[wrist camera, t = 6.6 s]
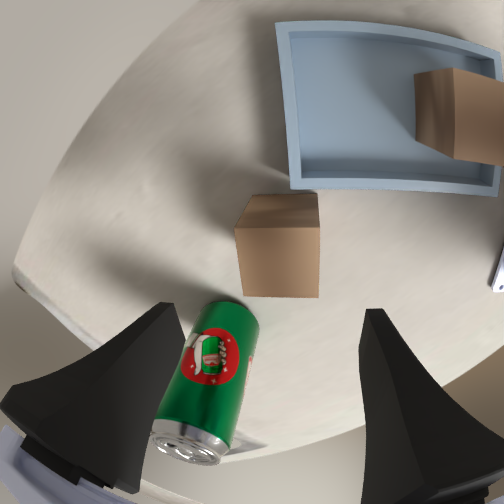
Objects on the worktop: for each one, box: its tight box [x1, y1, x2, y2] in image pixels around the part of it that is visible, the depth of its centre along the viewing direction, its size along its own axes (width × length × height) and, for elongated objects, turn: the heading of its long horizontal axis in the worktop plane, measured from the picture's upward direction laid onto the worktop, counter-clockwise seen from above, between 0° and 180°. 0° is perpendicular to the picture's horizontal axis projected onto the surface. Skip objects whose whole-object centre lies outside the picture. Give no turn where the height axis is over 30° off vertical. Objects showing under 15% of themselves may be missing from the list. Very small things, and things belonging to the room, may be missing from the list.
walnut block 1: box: [234, 194, 320, 298], centre depth 16 cm, size 4×4×5 cm
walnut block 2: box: [414, 68, 504, 167], centre depth 10 cm, size 4×4×5 cm
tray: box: [275, 20, 503, 197], centre depth 12 cm, size 13×9×2 cm
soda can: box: [149, 301, 259, 466], centre depth 18 cm, size 5×5×12 cm
